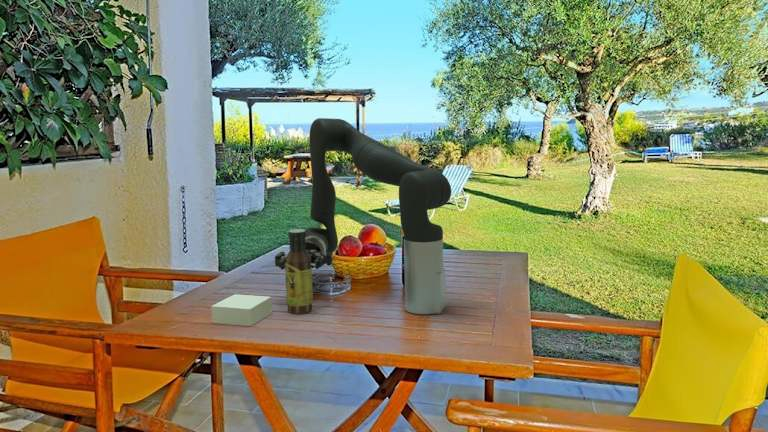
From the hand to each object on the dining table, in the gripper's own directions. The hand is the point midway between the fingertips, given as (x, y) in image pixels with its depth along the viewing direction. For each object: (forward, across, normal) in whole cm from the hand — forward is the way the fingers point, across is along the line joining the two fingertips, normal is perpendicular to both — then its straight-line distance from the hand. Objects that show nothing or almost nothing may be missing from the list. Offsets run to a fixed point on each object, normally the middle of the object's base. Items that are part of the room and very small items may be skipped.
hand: (299, 265), depth 142 cm
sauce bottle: (+1, 0, +11) cm, 11 cm away
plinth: (+6, -13, +11) cm, 18 cm away
